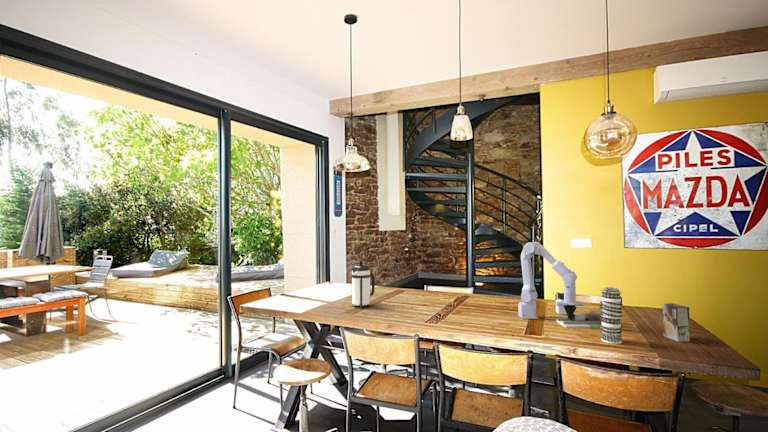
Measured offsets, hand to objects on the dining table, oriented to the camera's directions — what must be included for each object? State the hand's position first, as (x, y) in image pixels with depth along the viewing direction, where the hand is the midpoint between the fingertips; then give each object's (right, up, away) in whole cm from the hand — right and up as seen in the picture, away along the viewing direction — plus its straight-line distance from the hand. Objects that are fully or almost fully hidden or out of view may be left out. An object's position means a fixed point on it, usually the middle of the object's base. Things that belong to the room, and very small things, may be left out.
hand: (569, 319), depth 210 cm
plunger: (+5, -1, 0) cm, 6 cm away
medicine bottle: (+8, -3, +25) cm, 26 cm away
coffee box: (+39, -3, -25) cm, 46 cm away
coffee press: (-116, -4, +46) cm, 125 cm away
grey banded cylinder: (+6, -3, -28) cm, 29 cm away
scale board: (+5, -3, 0) cm, 6 cm away
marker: (+11, -1, 0) cm, 11 cm away
